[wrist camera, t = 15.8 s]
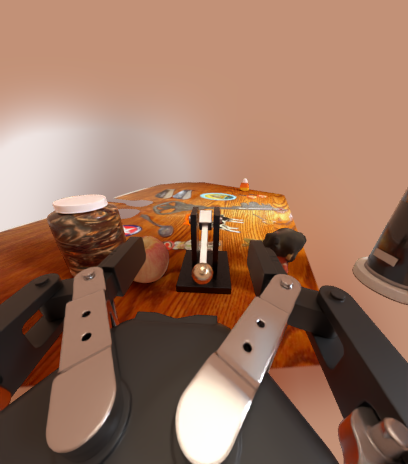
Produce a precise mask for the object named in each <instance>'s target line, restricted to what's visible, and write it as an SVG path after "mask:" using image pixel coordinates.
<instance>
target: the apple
mask: <svg viewBox="0 0 408 464" xmlns="http://www.w3.org/2000/svg"><path fill="white" fill-rule="evenodd" d="M142 238H143V242H144V247H145V252H146V260H145V263H144V264H143V266H142V268H141V269H140V271H139V272H138V274H137V276H136V277H135V279H134V280H133V281H136V282H139V283H150V282H154V281H156V280H158V279H160V278H161V277H162V276H163V275H164V273H165V271H166V270H167V267H168V263H169V253H168V250H167V248H166V246H165V245H164V244H163V243H162V242H161V241H160V240H158V239H157V238H155V237H151V236H145V237H142Z"/></svg>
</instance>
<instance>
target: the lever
mask: <svg viewBox="0 0 408 464" xmlns="http://www.w3.org/2000/svg"><path fill="white" fill-rule="evenodd" d="M211 227H212V210H200V215H199V229H200V230H202V234H201V247H200V260H199V263H198V264H196V265H195V266H194V267H193V269H192V277H193V279H194V281H195V282H196V283H198V284H207V283H208V282H210V281H211V279H212V277H213V270H212V268H211V266H210V265H209V264H207V246H208V230H211Z"/></svg>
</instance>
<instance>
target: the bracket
mask: <svg viewBox="0 0 408 464" xmlns="http://www.w3.org/2000/svg"><path fill="white" fill-rule="evenodd" d="M189 224H191V248H192V250H186V253H185V257H184V260H183V264H182V267H181V271H180V274H179V278H178V281H177V285H176V289H177V292H196V293H216V294H231V281H230V272H229V264H228V256H227V251H218V247H219V227H220V224H222V217H220V208H219V207H214V229H213V251H207V264H209V265H210V266H211V268H212V270H213V277H212V279H211V281H210V282H208V283H207V284H198V283H196V282H195V281H194V279H193V277H192V269H193V267H194V266H195V265H196V264H198V263H199V260H200V250H199V209H198V207H193V210H192V212H191V215H190V216H189Z"/></svg>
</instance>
